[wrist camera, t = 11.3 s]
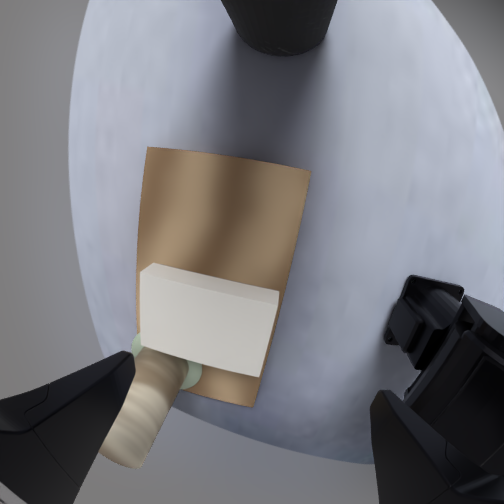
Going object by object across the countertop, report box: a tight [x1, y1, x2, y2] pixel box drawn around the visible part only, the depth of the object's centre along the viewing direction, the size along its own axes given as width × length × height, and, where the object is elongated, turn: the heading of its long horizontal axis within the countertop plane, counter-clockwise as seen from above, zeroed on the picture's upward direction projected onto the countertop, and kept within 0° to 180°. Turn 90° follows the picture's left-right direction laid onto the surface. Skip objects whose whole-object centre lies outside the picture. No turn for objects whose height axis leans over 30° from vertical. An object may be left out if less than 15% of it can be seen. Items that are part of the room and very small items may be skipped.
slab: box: [140, 263, 279, 377], centre depth 19 cm, size 9×6×4 cm, turn 80°
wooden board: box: [131, 147, 311, 407], centre depth 22 cm, size 13×22×2 cm, turn 170°
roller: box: [99, 346, 189, 469], centre depth 18 cm, size 5×5×11 cm
